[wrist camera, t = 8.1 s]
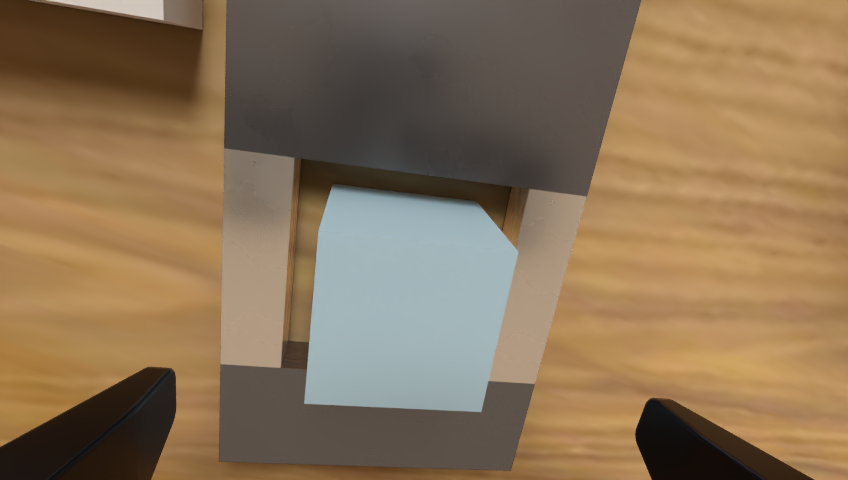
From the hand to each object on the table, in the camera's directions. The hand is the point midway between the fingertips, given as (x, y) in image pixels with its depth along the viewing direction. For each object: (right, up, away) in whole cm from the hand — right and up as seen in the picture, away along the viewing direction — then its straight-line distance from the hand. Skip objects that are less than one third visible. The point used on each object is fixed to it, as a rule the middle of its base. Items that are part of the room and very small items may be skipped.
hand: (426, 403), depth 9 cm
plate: (0, +5, +5) cm, 8 cm away
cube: (-1, +2, +6) cm, 7 cm away
